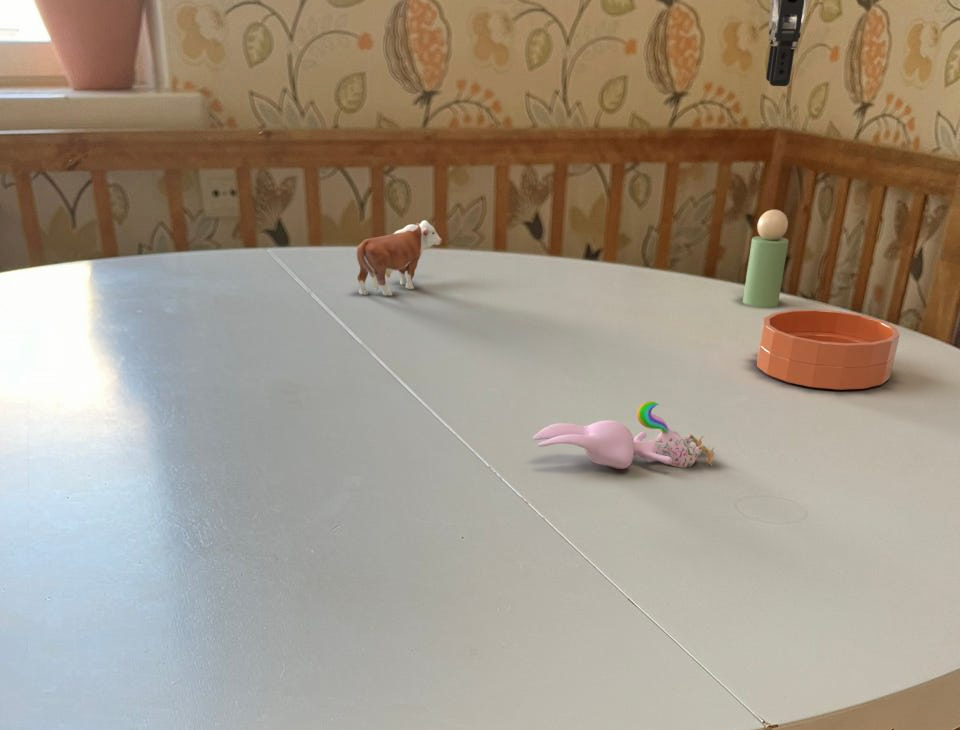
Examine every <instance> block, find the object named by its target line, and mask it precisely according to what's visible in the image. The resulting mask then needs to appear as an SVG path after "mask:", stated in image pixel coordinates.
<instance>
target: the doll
mask: <svg viewBox="0 0 960 730" xmlns="http://www.w3.org/2000/svg"><path fill="white" fill-rule="evenodd" d="M757 221H758V222H757V228H756V229H757V233H758V235H756V236H753V237H752V238H751V243H750V250H749V257H748V263H747V271H746V276H745V282H744V291H743V296H742V303H743V304H744V305H747V306H751V307H757V308H774V307H778V306H779V301H780V300H779V299H780V295H781V290H782V289H781V288H782V284H783V277H784V271H785V266H786V259H787V255H788V254H787V253H788V247H789V239H787V238H785V237H784V236H785V234H786V232H787V231H788V226H789V221H788V217H787V215H786V214H785V213H784V212H782V211H781V210H779V209H770V210H767V211H765V212H764V213H762V215H761V216H760V217H759V219H758V220H757Z"/></svg>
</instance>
